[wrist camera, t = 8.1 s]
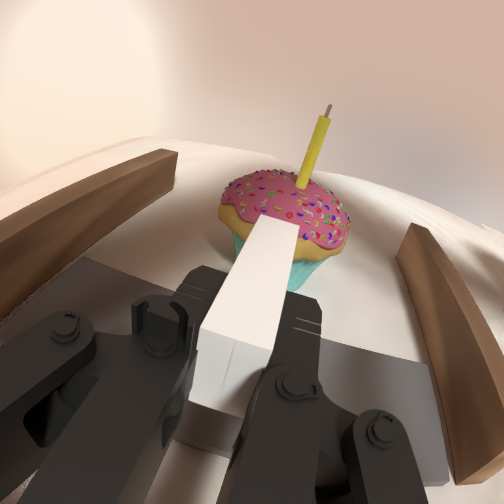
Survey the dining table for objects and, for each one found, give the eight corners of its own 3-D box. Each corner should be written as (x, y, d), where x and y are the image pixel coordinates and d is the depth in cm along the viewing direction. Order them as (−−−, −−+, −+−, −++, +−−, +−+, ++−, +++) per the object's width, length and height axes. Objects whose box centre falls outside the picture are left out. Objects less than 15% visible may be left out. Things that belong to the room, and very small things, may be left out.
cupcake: (343, 314, 20) (416, 135, 14) (212, 308, 18) (262, 85, 12) (304, 247, 27) (347, 110, 22) (205, 235, 25) (236, 81, 19)
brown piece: (411, 262, 30) (427, 228, 28) (481, 483, 9) (536, 440, 7) (156, 184, 32) (160, 148, 30) (-32, 316, 11) (-53, 253, 9)
